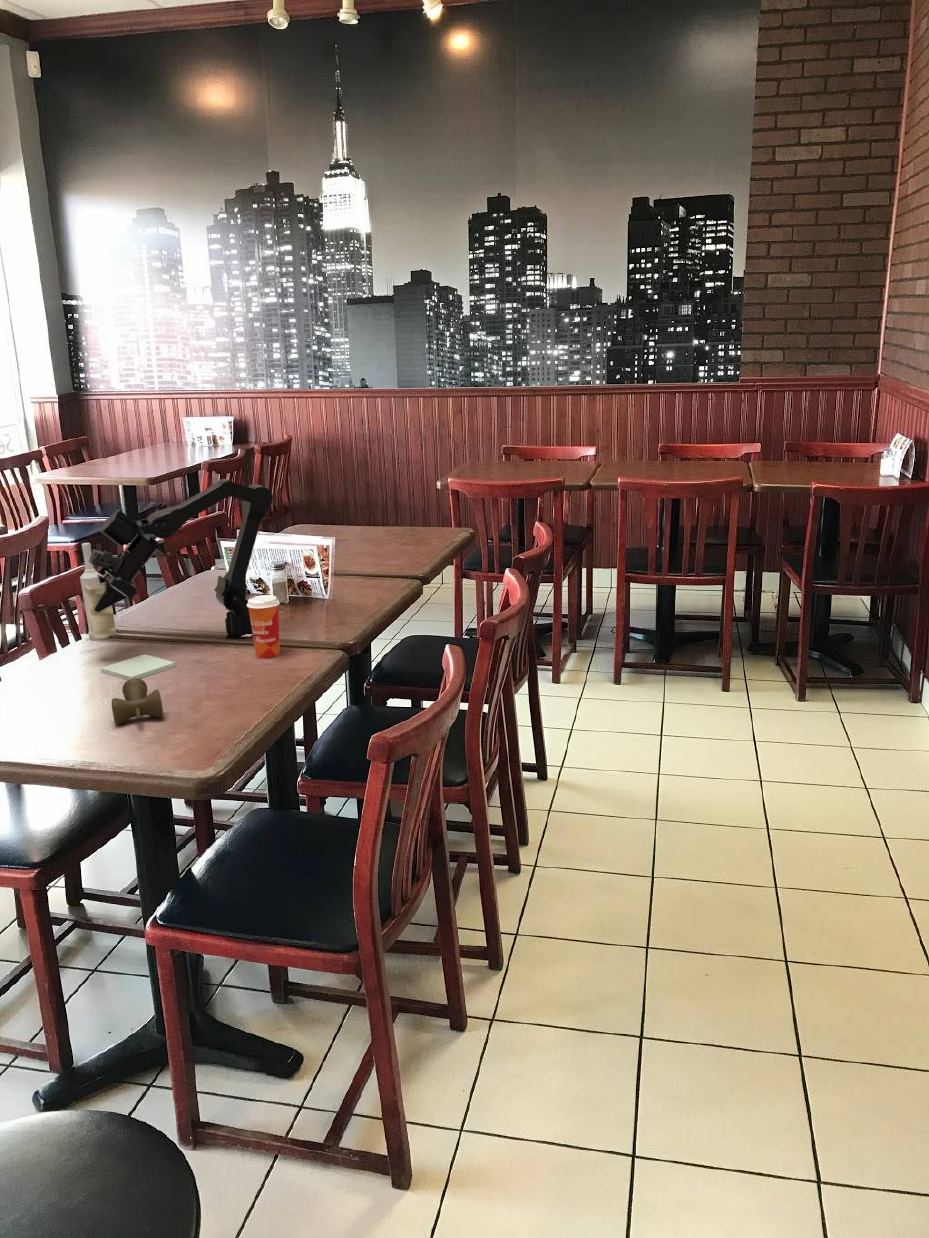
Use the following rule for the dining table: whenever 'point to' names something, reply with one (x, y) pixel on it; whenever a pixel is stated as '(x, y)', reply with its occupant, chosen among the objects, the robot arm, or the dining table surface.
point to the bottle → (88, 582)
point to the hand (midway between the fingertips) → (94, 608)
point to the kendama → (136, 702)
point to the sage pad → (138, 667)
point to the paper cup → (265, 625)
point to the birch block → (101, 620)
